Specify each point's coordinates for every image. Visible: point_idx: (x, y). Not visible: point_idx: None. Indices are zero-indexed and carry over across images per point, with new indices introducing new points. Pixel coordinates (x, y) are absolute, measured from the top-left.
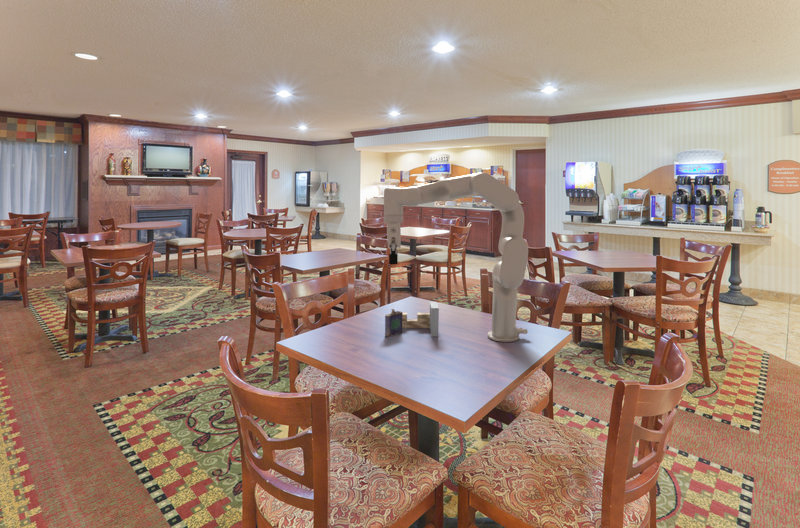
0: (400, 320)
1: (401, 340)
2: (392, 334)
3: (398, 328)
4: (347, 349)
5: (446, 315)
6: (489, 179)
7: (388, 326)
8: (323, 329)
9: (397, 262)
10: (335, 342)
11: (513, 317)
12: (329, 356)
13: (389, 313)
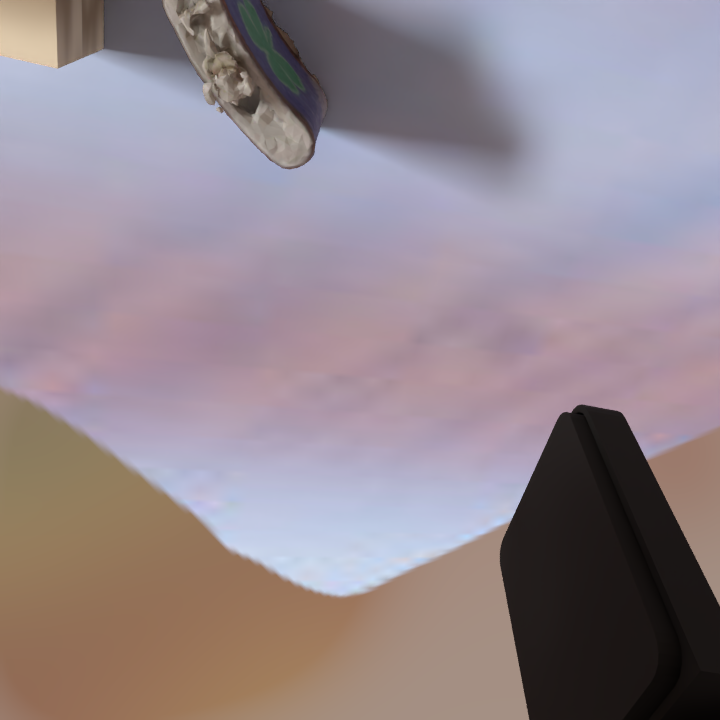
0: None
1: (429, 13)
2: (300, 64)
3: (255, 5)
4: (493, 372)
5: None
6: None
7: (320, 119)
8: (134, 453)
9: (630, 437)
10: (366, 415)
11: None
12: None
13: (21, 59)
